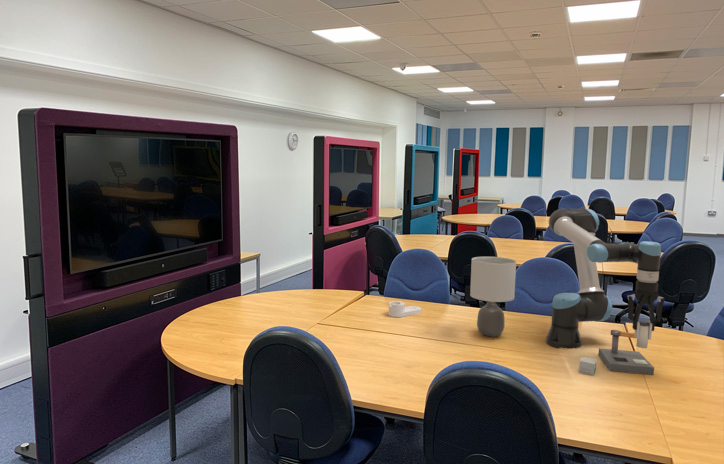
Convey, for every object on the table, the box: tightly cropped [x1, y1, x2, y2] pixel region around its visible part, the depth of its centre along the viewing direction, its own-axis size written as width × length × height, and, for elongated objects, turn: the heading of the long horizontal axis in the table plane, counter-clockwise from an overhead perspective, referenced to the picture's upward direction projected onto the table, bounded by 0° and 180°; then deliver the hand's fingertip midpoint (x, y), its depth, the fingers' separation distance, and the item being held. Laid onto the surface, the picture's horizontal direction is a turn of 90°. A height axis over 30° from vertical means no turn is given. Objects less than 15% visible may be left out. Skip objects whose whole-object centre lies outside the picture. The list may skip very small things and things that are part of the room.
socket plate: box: [597, 335, 655, 376], centre depth 205 cm, size 16×18×10 cm
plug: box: [636, 320, 650, 349], centre depth 199 cm, size 4×4×10 cm
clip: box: [610, 329, 636, 339], centre depth 209 cm, size 4×14×2 cm, turn 64°
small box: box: [578, 356, 598, 376], centre depth 197 cm, size 6×6×5 cm
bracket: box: [388, 300, 422, 318], centre depth 275 cm, size 20×9×7 cm, turn 121°
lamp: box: [469, 256, 517, 337], centre depth 240 cm, size 21×21×37 cm
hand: (642, 337), depth 199 cm, fingers closed on plug, 4 cm apart
